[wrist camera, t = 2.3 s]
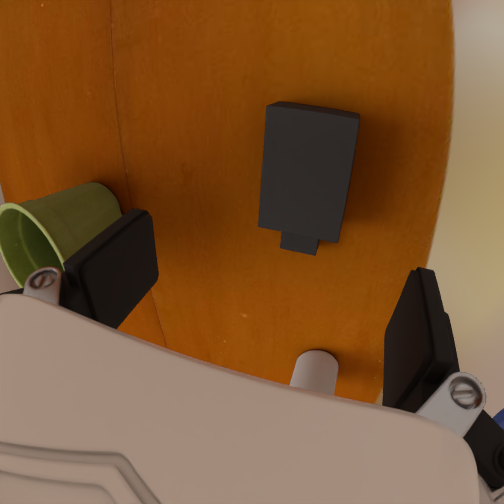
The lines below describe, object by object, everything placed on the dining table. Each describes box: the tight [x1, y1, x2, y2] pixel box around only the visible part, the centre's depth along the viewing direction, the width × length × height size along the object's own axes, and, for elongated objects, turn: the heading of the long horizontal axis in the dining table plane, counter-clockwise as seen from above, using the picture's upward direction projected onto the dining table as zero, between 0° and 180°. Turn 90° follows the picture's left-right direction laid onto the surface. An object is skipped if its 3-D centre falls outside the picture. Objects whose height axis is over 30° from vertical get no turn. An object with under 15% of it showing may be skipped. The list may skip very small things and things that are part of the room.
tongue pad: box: [258, 102, 360, 256], centre depth 23 cm, size 6×12×4 cm, turn 177°
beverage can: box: [289, 350, 338, 396], centre depth 30 cm, size 5×5×12 cm
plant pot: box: [0, 182, 123, 288], centre depth 29 cm, size 12×12×11 cm
